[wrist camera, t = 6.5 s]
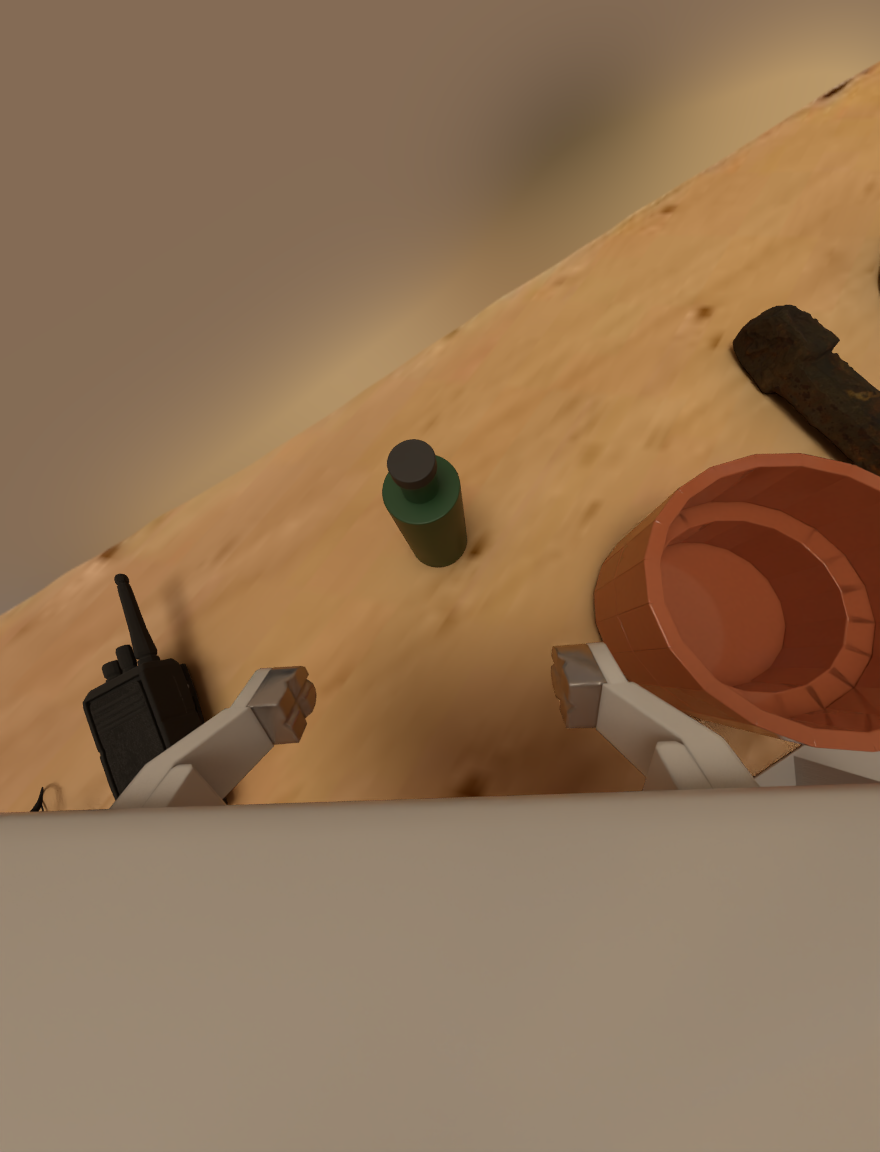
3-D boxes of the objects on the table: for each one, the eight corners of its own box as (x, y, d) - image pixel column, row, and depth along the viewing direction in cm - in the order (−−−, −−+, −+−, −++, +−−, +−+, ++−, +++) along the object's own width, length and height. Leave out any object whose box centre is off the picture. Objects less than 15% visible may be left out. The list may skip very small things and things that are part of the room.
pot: (847, 595, 24) (1054, 556, 15) (742, 767, 22) (909, 833, 13) (656, 489, 28) (735, 409, 19) (553, 628, 26) (588, 610, 17)
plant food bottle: (478, 535, 28) (475, 449, 17) (443, 578, 28) (415, 519, 17) (435, 505, 30) (406, 407, 18) (400, 546, 29) (348, 470, 18)
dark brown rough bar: (934, 499, 25) (1034, 462, 20) (887, 523, 25) (976, 491, 20) (755, 334, 30) (802, 277, 26) (715, 354, 30) (756, 300, 26)
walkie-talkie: (130, 862, 23) (59, 608, 27) (230, 801, 27) (157, 590, 31) (123, 876, 19) (40, 573, 23) (242, 801, 23) (156, 557, 27)
